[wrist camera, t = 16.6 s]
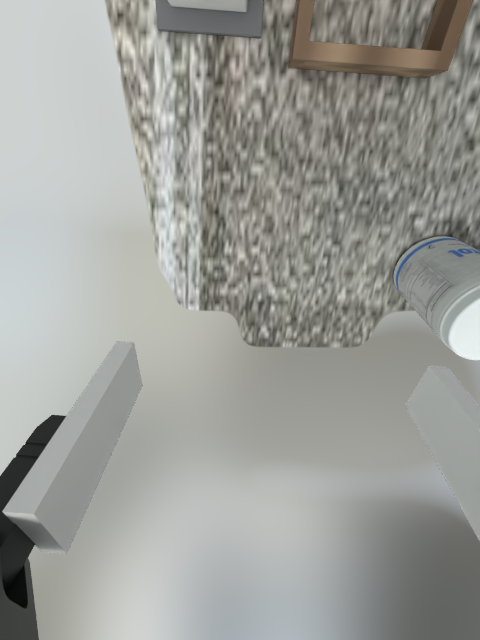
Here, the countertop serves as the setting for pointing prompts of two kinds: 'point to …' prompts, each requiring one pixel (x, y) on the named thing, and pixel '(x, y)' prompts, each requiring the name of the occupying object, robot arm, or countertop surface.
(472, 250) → the supplement tub
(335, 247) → the countertop surface
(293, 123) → the countertop surface
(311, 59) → the wooden square frame
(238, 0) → the milk carton
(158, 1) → the rubber mat
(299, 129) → the countertop surface
